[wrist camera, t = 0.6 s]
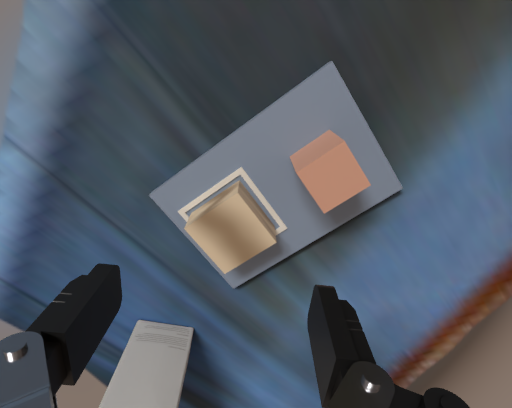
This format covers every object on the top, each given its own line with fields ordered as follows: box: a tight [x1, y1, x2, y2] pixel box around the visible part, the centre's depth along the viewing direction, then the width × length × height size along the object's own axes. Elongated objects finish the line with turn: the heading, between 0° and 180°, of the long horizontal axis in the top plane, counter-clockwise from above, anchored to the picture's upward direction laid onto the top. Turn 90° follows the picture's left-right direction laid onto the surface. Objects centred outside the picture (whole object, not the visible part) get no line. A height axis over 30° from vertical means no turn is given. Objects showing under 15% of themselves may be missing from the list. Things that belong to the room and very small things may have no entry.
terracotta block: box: [290, 130, 371, 214], centre depth 31 cm, size 5×5×6 cm
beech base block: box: [184, 180, 277, 274], centre depth 35 cm, size 7×7×4 cm
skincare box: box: [99, 320, 194, 408], centre depth 38 cm, size 8×7×16 cm
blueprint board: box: [149, 61, 403, 289], centre depth 36 cm, size 24×16×1 cm, turn 125°
